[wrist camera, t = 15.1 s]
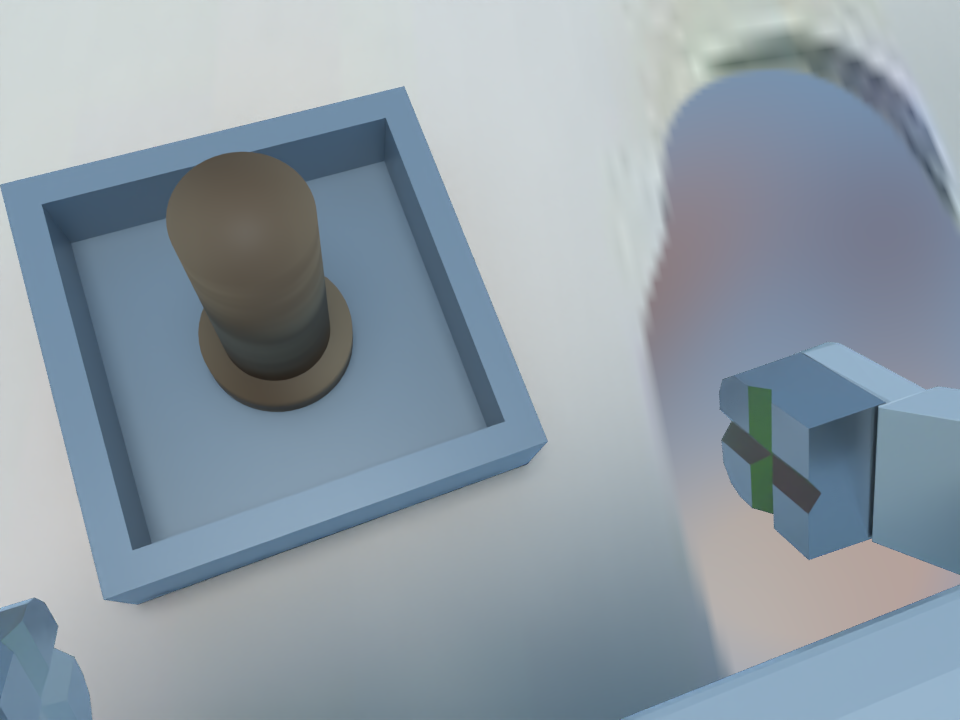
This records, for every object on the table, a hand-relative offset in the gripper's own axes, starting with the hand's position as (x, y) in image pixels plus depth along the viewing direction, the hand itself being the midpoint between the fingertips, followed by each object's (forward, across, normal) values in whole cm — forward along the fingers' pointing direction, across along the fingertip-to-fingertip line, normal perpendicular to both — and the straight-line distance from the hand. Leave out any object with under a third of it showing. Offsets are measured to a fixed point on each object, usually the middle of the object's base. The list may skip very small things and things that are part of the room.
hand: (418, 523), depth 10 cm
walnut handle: (+19, +1, +5) cm, 19 cm away
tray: (+19, +1, +5) cm, 20 cm away
